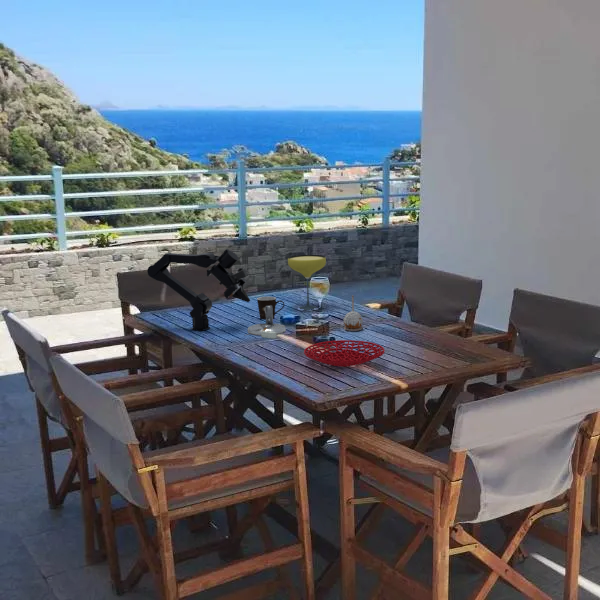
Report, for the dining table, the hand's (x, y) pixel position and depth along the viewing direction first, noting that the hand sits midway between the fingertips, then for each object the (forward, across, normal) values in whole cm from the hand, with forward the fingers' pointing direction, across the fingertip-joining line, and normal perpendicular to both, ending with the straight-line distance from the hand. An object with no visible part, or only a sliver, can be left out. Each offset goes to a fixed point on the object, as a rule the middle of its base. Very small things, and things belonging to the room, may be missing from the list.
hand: (249, 301), depth 351 cm
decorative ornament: (+40, +4, -22) cm, 46 cm away
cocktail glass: (+22, +45, -3) cm, 50 cm away
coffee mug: (+12, +20, +6) cm, 25 cm away
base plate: (+15, -5, +3) cm, 16 cm away
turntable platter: (+14, -5, +2) cm, 15 cm away
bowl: (+42, -48, -24) cm, 68 cm away
